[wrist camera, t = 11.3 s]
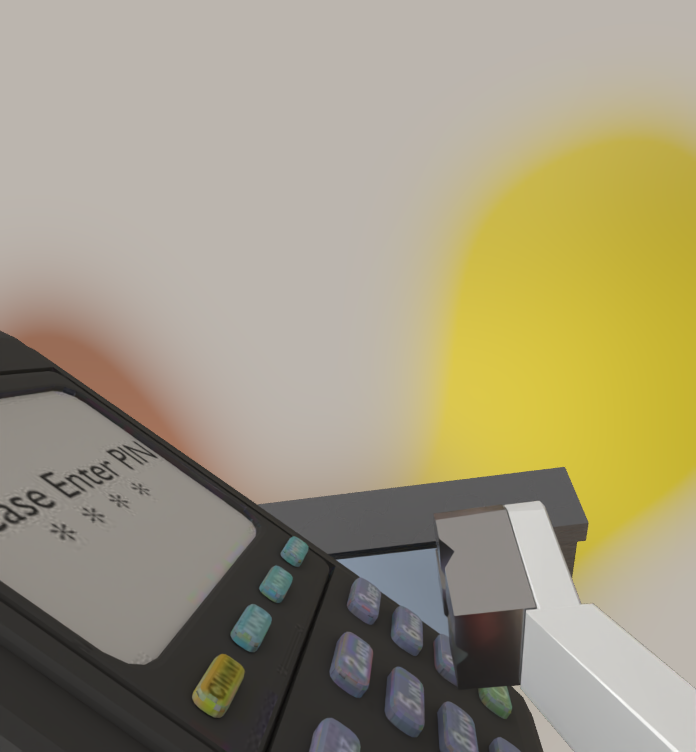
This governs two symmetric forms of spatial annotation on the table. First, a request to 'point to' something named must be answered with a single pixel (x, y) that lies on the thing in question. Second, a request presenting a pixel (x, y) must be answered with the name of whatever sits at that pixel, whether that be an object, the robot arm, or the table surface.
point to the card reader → (194, 607)
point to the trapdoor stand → (427, 513)
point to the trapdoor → (406, 582)
